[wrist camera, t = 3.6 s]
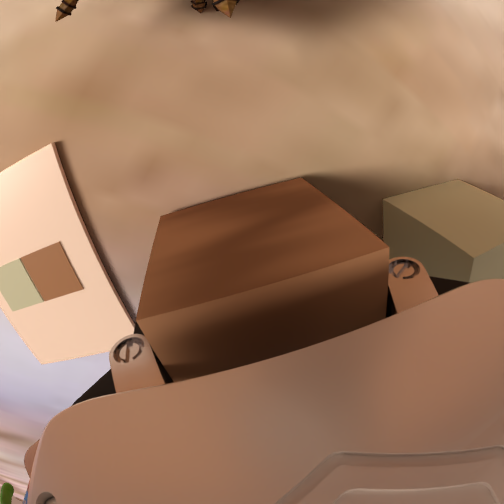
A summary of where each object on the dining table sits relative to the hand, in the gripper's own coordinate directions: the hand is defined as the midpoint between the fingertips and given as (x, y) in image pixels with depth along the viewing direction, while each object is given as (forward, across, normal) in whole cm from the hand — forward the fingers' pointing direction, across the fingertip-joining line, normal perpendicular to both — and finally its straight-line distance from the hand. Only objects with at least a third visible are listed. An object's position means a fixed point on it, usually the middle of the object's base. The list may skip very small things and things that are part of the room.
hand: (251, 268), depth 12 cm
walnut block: (+1, 0, 0) cm, 1 cm away
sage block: (+2, -10, +2) cm, 10 cm away
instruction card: (+1, +10, -2) cm, 10 cm away
